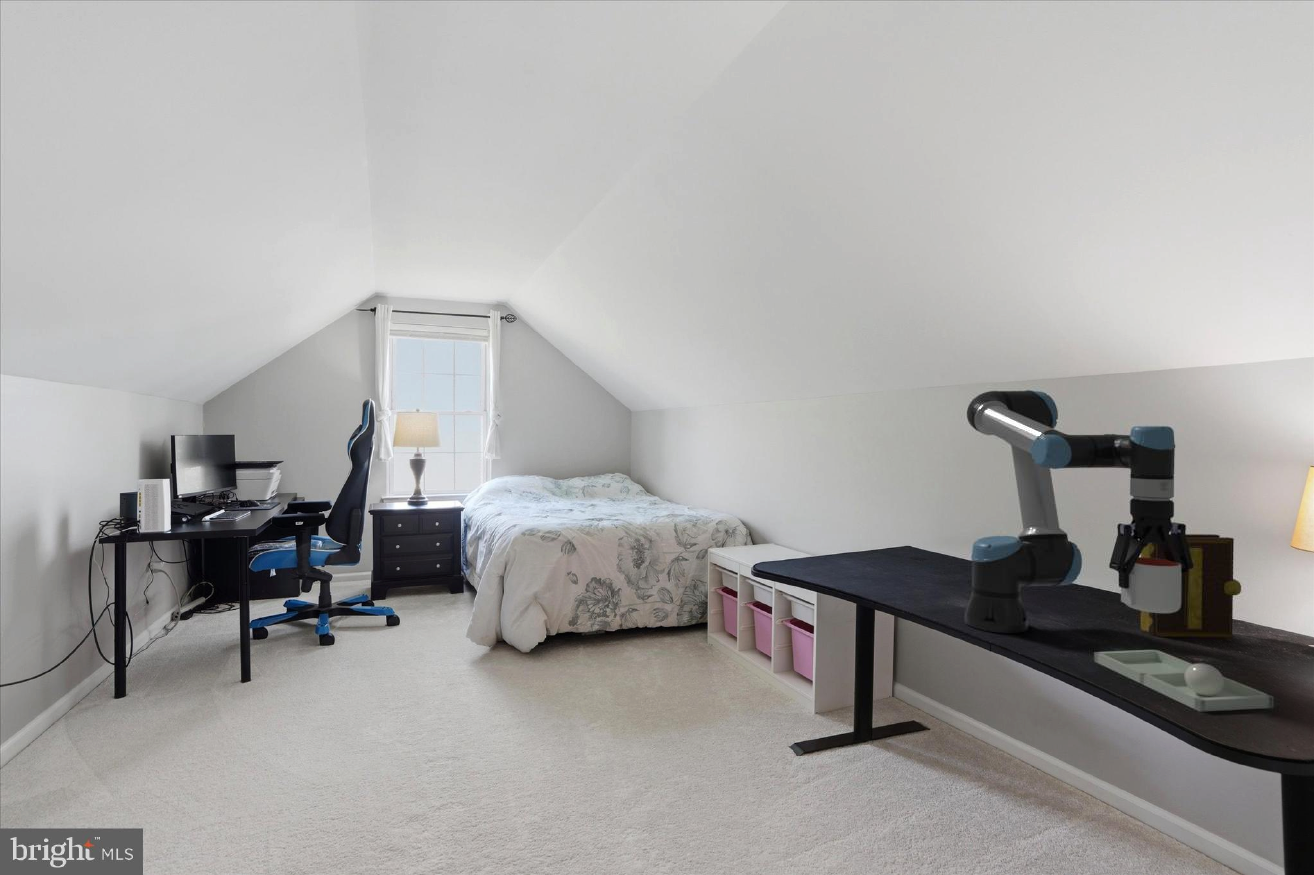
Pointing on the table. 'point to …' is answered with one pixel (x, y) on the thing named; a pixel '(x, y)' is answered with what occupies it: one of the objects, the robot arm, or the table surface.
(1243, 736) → the table surface
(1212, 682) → the egg
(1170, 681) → the holder
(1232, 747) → the table surface
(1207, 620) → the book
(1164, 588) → the cup
